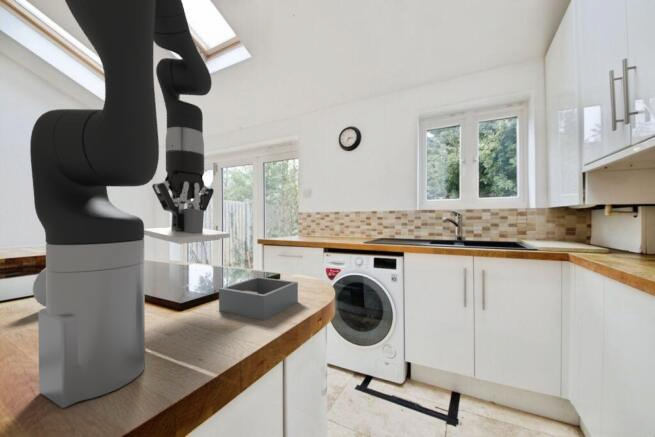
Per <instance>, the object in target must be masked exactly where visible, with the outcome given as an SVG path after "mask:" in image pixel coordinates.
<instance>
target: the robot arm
mask: <svg viewBox="0 0 655 437" xmlns="http://www.w3.org/2000/svg"><path fill="white" fill-rule="evenodd" d="M64 1H65V3H66V5H67V7H68V9H69V11H70V14H72V17H73V18H74V20H75V21H76V23H77V25H78V26H79V27H80V29H81V30H82V33H83V34H84V35H85V37H86V38H87V39H88V41H89V42H90V44H91V45H92V47H93V48H94V50H95V52H96V53H97V55H98V57H99V59H100V62H101V65H102V69H103V74H104V93H105V94H104V104H103V108H102V109H99V108H98V109H96V108H94V109H93V108H92V109H91V108H89V109H87V108H85V109H84V108H83V109H82V108H63V109H62V108H60V109H59V108H58V109H51V110H48V111H46V112H44V113H42V114H41V115H40V116H39V117H38V118H37V120H36V121H35V123H34V124H33V127H32V130H31V134H30V143H29V144H30V146H29V147H30V150H29V151H30V152H29V154H30V165H31V168H30V169H31V176H32V189H33V201H34V202H33V203H34V209H35V210H34V211H35V214H36V217H37V218H38V220H39V223H40V224H41V226H42V227H43V229H44V233H45V268H46V306H45V307H46V308H45V307H44V308H41V309H39V311H38V316H37V318H38V319H37V322H38V392H39V393H40V394H41V395H43V396H44V397H46V398H47V399H48V400H50V401H52V402H53V403H54V404H56V406H57V405H58V406H59V407H60V408H61V409H63V408H67V407H70V406H71V405H73V404H75V403H78V402H79V403H80V402H81V401H82V402H83V401H86V400H90V399H94V398H97V397H100V396H103V395H106V394H108V393H110V392H113V391H116V390H117V389H120V388H122V387H124V386H126V385H127V384H129V383H131V382H132V381H134V380H135V379H136V378H137V377H139V376H140V375H141V373H142V372H143V371H144V369H145V366H146V365H145V364H146V361H145V360H146V346H145V344H146V336H145V335H146V334H145V333H146V332H145V331H146V330H145V329H146V328H145V324H146V323H145V322H146V321H145V320H146V319H145V314H146V311H145V307H146V306H145V302H146V301H145V235H144V229H145V224H144V221H143V220H142V218H140V217H139V216H137V215H134V214H130V213H128V212H125V211H123V210H121V209H119V208H117V207H116V206H115V205H114V204H112V202H111V201H110V199H109V195H108V194H109V193H108V188H107V187H124V188H125V187H141V186H145V185H148V183H150V182H151V180H153V178H154V177H155V175H156V173H157V169H158V165H159V160H160V158H159V156H160V145H159V144H160V143H159V142H160V140H159V128H158V127H159V126H158V118H157V115H158V114H157V105H156V103H157V102H156V92H155V91H156V90H155V81H154V80H155V78H154V76H155V75H154V73H155V74H156V78H157V82H158V85H159V88H160V91H161V94H162V97H163V98H162V99H163V102H164V106H165V110H166V112H165V113H166V135H165V172H166V173H167V175H166V176H165V178H164V181H162V182H159V183H153V184H152V189H153V191H154V194H155V195H156V197H157V199H158V201H159V204H160V205H161V208H162V209H163V211H166V212H169V213H171V215H172V214H173V228H174V229H175V231H184V214H182V213H183V212H184V208H185V205H186V207H187V208H191V209H198V210H204V212H205V211H206V212H207V208H208V207H209V204H210V202H211V199H212V196H213V194H214V192H215V191H214V189H213V188H212V187H211V188H210V187H207V186H206V185H205V182H204V178H203V176H204V175H205V142H204V134H203V132H204V131H203V128H204V127H203V120H204V119H203V111H202V109H201V108H200V107H199V106H198V105H196V104H194V103H191V102H187V101H184V100H181V99H180V98H181V97H180V96H182V95H183V96H197V97H198V96H201V97H202V96H206V95H208V94H209V92H211V88H212V84H213V83H212V77H211V73H210V70H209V68H208V67H207V65H206V62H205V60H204V59H203V57H202V55H201V54H200V51H199V49H198V47H197V45H196V43H195V41H194V39H193V38H194V37H192V33H191V30H190V26H189V23H188V20H187V15H186V12H185V11H186V10H185V7H184V4H183V0H64ZM154 44H156V46H158V47H160V48H161V49H164V50H166V51H169V52H173V53H175V54H176V55H178V56H179V57H180V58H174V57H165V58H161V59H160V60H159V61H158V62H157V65H156V68H155V69H156V70H155V72H154ZM170 192H171V194H170Z"/></svg>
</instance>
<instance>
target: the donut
mask: <svg viewBox="0 0 655 437" xmlns="http://www.w3.org/2000/svg"><path fill="white" fill-rule="evenodd" d="M32 294H33V295H32V296H33V298H34V299H35V300H36V302H37V303H39V304H40V305H41V306H43V307H46V267H45V268H43V269H42V270H41V271H40V272H39V273H38V275H36V277H35V280H34V282H33V285H32Z"/></svg>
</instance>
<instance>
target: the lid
mask: <svg viewBox="0 0 655 437" xmlns="http://www.w3.org/2000/svg"><path fill="white" fill-rule="evenodd" d="M204 213H205V211H204V210H198V209H191V208H188V207H184V212H183V213H182V214H184V231H175V229H174V228H173V214H172V213H171V225H170V227H152V228H151V227H150V228H144V236H147V237H149V238H153V239H158V240H163V241H167V242H170V243H175V244H179V245H182V244H183V245H184V244H191V243H202V242H209V241H220V240H221V239H227V238H231V232H225V231H222V230H221V231H219V230H214V229H210V228H204V216H205V214H204Z"/></svg>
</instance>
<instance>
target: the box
mask: <svg viewBox="0 0 655 437" xmlns="http://www.w3.org/2000/svg"><path fill="white" fill-rule="evenodd" d="M244 290H245V291H252V292H258V294H257V293H251V292H245V291H244ZM298 291H299V282H298V281H291V280H286V279H285V280H283V279H275V278H269V277H261V276H256V277H252V278H249V279H246V280H242V281H239V282H236V283H232V284H230V285H226V286H223V287H220V288H218V311H219V312H223V313H224V312H225V313H229V314H233V315H238V316H243V317H247V318H251V319H256V320H261V321H266V320H267V319H269V318H271V317H273V316H275V315H277V314H279V313H281V312H282V311H284V310H286V309H288V308H290V307H291V306H293V305H295V304H297V303H298V302H299V297H298V296H299V292H298Z"/></svg>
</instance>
